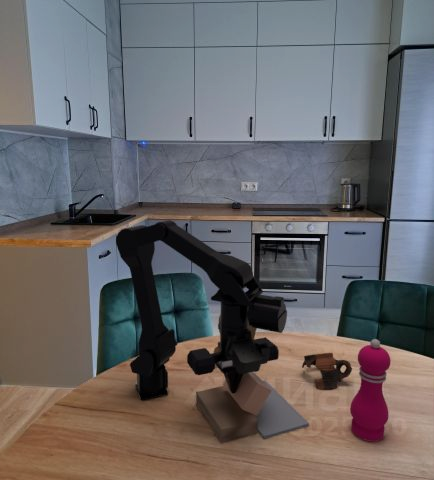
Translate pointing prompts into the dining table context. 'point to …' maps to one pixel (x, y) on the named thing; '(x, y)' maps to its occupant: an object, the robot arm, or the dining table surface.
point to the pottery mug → (327, 369)
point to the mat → (278, 416)
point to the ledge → (225, 414)
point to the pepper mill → (371, 393)
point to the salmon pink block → (250, 393)
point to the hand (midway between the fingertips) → (232, 392)
